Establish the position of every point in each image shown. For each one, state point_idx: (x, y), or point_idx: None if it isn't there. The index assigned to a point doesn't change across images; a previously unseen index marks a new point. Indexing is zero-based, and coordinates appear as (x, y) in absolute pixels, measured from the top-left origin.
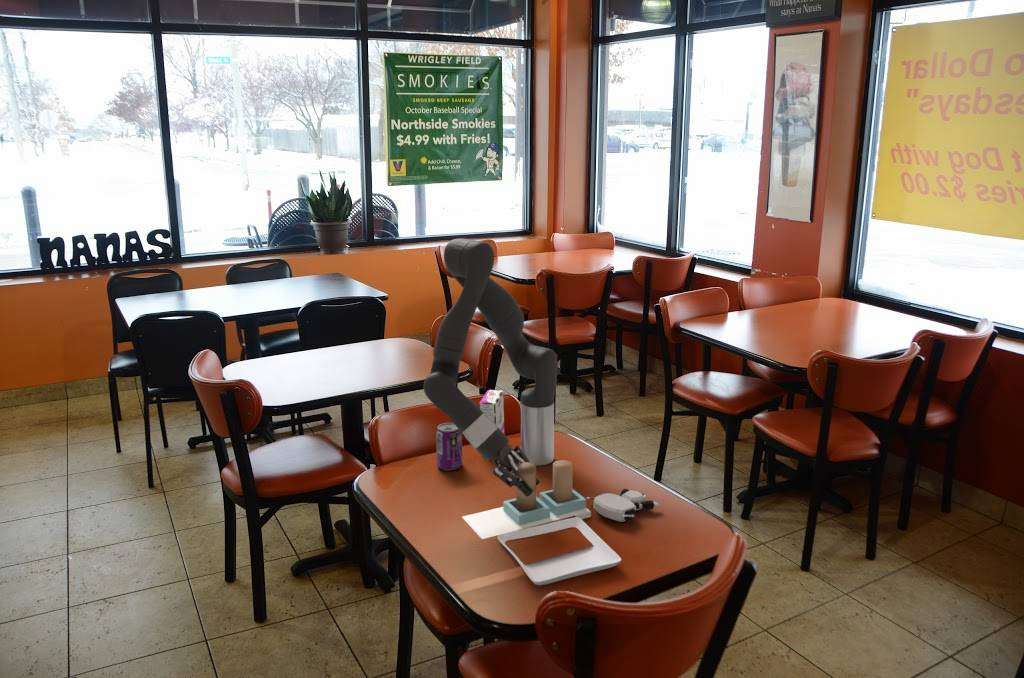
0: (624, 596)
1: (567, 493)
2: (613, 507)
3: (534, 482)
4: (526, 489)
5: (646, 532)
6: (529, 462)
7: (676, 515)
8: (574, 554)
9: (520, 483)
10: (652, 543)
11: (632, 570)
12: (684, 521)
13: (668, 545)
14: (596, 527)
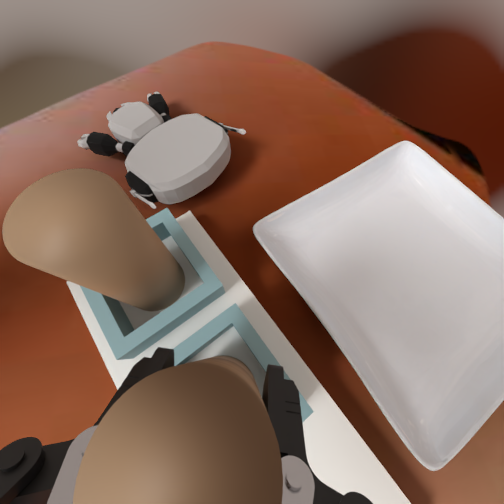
0: (465, 153)
1: (166, 247)
2: (214, 145)
3: (232, 365)
4: (299, 403)
5: (245, 125)
6: (8, 460)
7: (175, 86)
8: (381, 234)
9: (307, 462)
10: (283, 118)
11: (382, 144)
12: (197, 78)
13: (284, 99)
14: (240, 204)
